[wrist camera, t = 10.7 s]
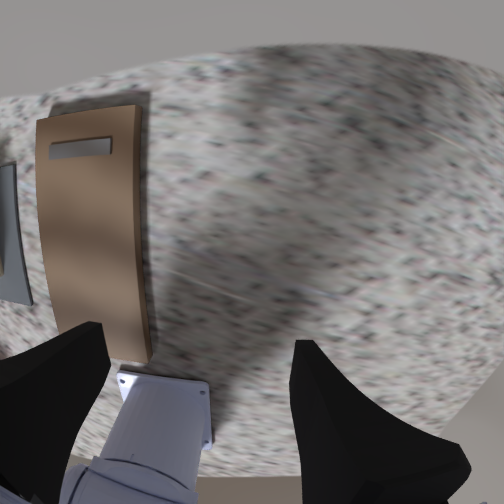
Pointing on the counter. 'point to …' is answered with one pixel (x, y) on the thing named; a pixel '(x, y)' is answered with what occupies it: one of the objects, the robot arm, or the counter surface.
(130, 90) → the counter surface
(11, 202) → the slate mat
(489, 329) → the counter surface
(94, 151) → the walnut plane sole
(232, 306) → the counter surface
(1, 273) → the cap
